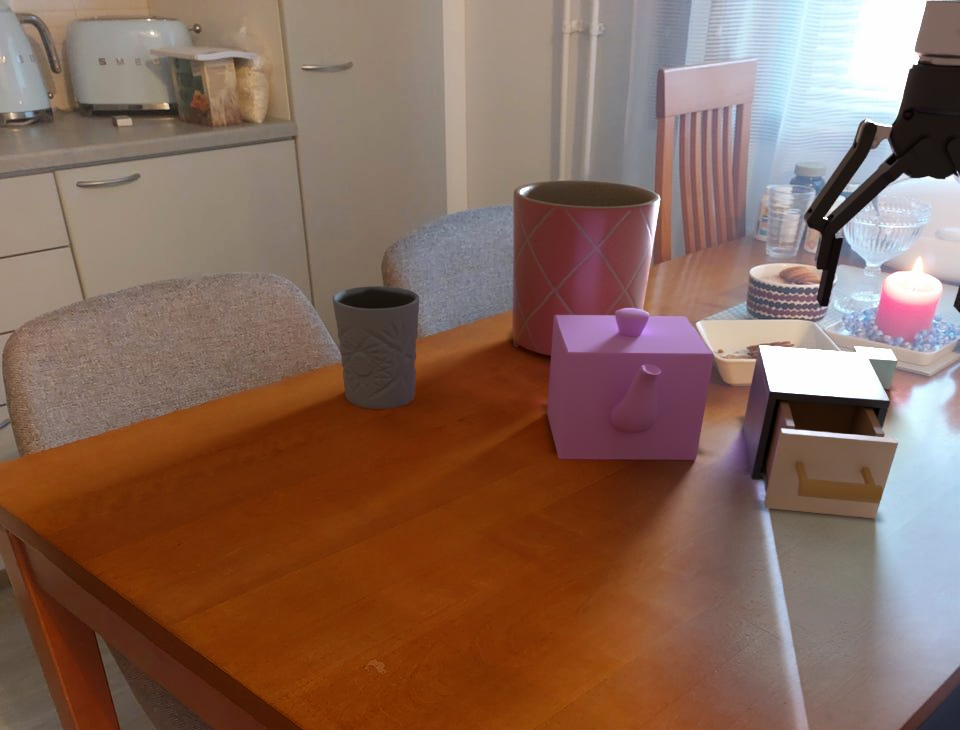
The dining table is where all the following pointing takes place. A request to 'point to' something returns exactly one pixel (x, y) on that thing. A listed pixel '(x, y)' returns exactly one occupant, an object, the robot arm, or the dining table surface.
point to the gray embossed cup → (378, 344)
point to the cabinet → (806, 389)
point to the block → (880, 363)
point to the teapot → (627, 386)
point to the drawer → (826, 459)
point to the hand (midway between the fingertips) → (890, 306)
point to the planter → (578, 253)
